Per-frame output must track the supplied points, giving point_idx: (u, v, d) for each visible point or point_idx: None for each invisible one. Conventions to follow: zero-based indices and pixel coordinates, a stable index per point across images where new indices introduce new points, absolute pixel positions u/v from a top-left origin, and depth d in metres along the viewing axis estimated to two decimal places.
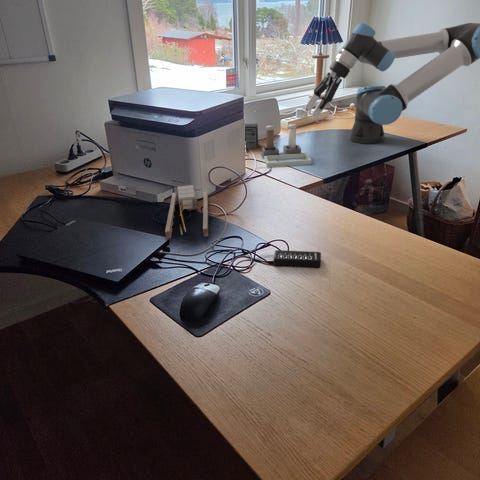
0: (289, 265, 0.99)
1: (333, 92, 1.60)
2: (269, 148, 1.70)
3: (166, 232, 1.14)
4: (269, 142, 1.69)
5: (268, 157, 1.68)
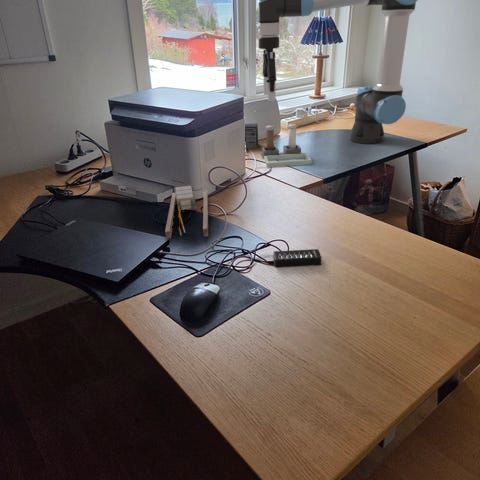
0: (291, 265, 0.99)
1: (273, 69, 1.50)
2: (269, 148, 1.70)
3: (166, 232, 1.14)
4: (269, 142, 1.69)
5: (268, 157, 1.68)
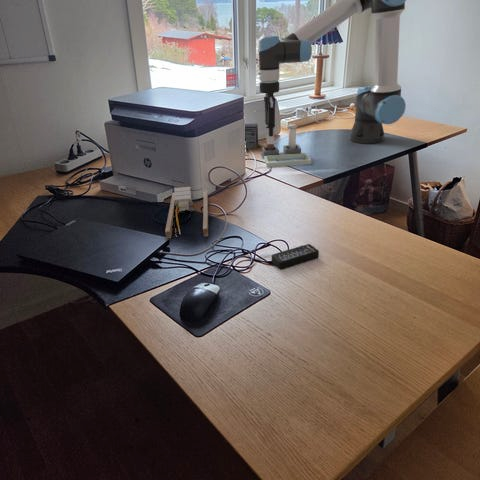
0: (294, 264, 1.00)
1: (272, 118, 1.61)
2: (269, 148, 1.70)
3: (166, 232, 1.14)
4: None
5: (268, 157, 1.68)
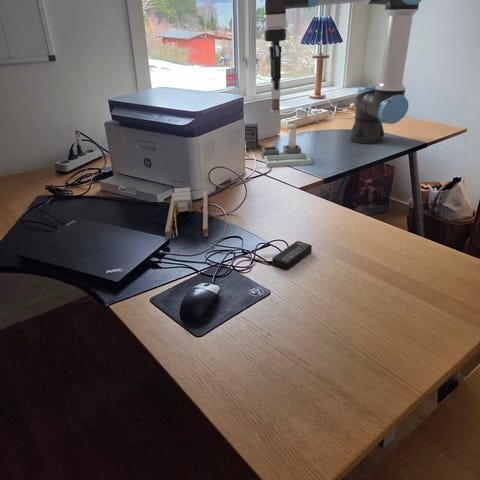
0: (295, 263, 1.00)
1: (278, 68, 1.49)
2: (274, 104, 1.59)
3: (166, 232, 1.14)
4: None
5: (268, 157, 1.68)
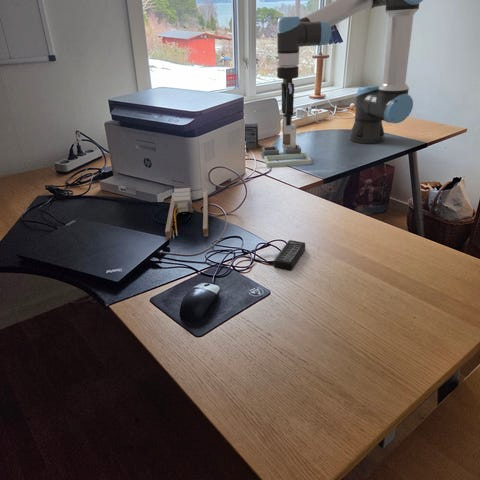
0: (296, 261, 1.00)
1: (291, 105, 1.50)
2: (286, 138, 1.60)
3: (166, 232, 1.14)
4: None
5: (268, 157, 1.68)
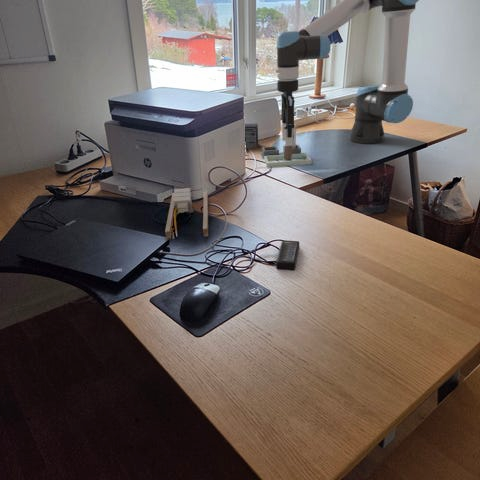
0: (296, 260, 1.01)
1: (291, 117, 1.51)
2: (287, 154, 1.63)
3: (166, 232, 1.14)
4: (288, 148, 1.61)
5: (268, 157, 1.68)
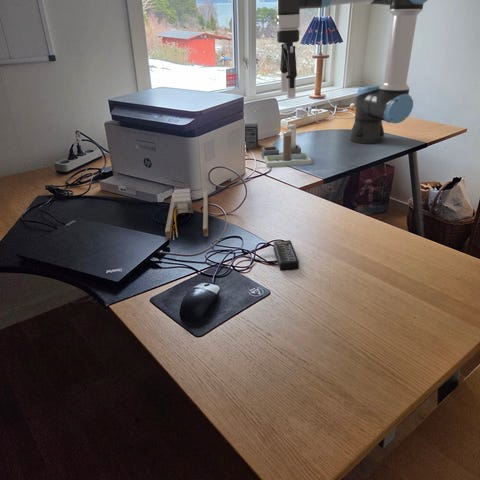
0: None
1: (293, 64, 1.41)
2: (286, 155, 1.63)
3: (166, 232, 1.14)
4: (286, 148, 1.62)
5: (268, 157, 1.68)
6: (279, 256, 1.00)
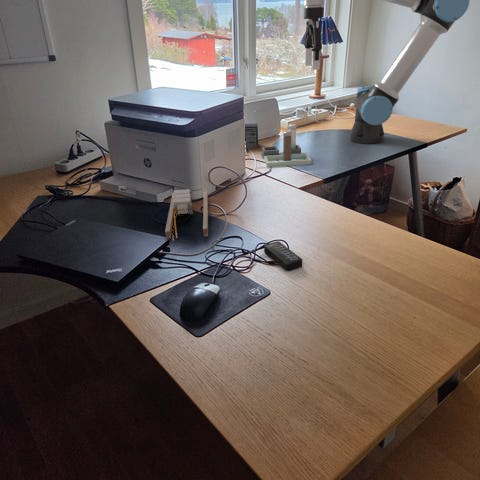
0: None
1: (319, 38, 1.55)
2: (286, 155, 1.63)
3: (166, 232, 1.14)
4: (286, 148, 1.62)
5: (268, 157, 1.68)
6: (280, 258, 0.99)
